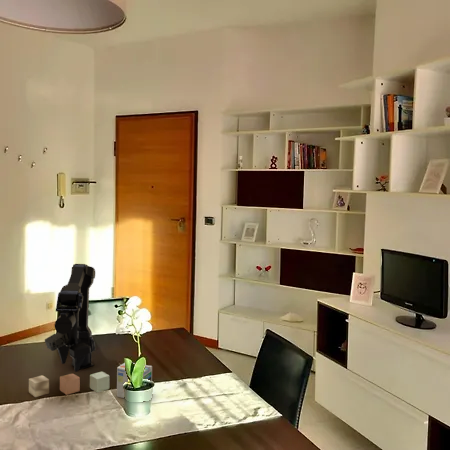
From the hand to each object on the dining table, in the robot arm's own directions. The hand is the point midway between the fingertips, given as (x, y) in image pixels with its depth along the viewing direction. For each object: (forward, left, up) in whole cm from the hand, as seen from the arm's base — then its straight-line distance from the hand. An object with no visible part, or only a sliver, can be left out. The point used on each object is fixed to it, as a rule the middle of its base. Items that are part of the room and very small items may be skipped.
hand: (69, 367), depth 186 cm
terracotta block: (0, 0, -9) cm, 9 cm away
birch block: (+9, -5, -9) cm, 13 cm away
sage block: (-9, +5, -9) cm, 13 cm away
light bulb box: (-15, +18, -9) cm, 25 cm away
